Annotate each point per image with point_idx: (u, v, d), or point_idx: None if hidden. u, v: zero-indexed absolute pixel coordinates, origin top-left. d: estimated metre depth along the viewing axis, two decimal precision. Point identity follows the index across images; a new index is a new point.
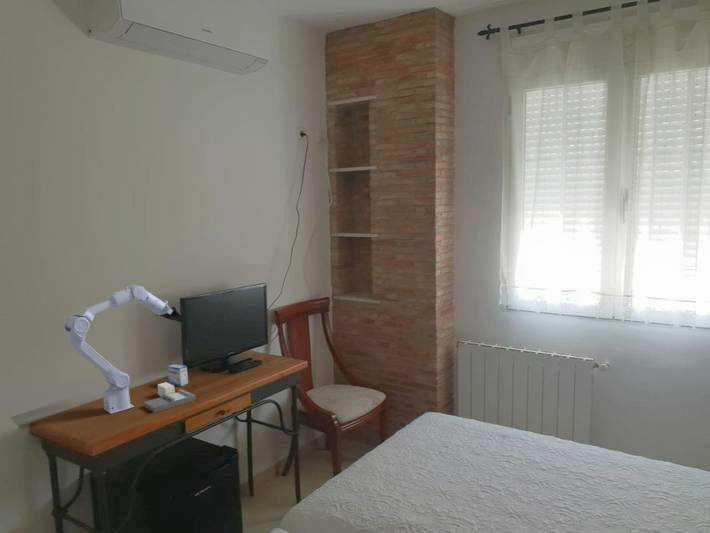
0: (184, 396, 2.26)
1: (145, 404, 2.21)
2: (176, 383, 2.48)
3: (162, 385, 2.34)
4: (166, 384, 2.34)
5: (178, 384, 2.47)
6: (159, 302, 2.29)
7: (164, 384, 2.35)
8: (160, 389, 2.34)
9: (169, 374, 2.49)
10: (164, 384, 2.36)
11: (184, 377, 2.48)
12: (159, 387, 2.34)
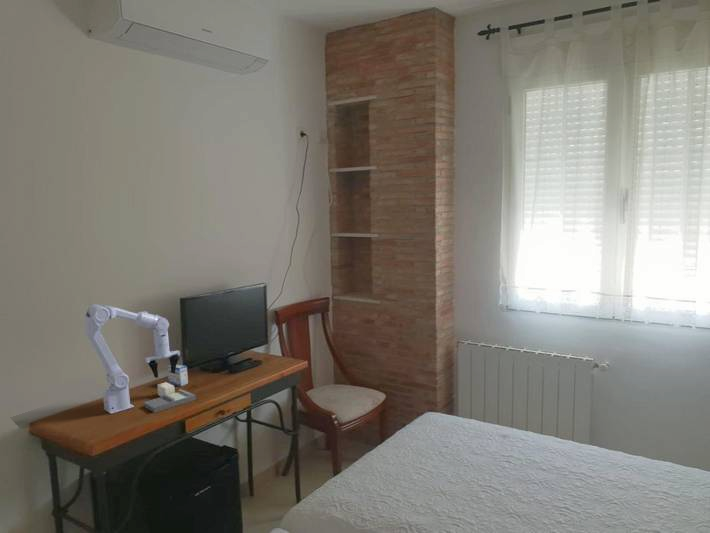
0: (184, 396, 2.26)
1: (145, 404, 2.21)
2: (176, 383, 2.48)
3: (162, 385, 2.34)
4: (166, 384, 2.34)
5: (178, 384, 2.47)
6: (158, 349, 2.29)
7: (164, 384, 2.35)
8: (160, 389, 2.34)
9: (169, 374, 2.49)
10: (164, 384, 2.36)
11: (184, 377, 2.48)
12: (159, 387, 2.34)
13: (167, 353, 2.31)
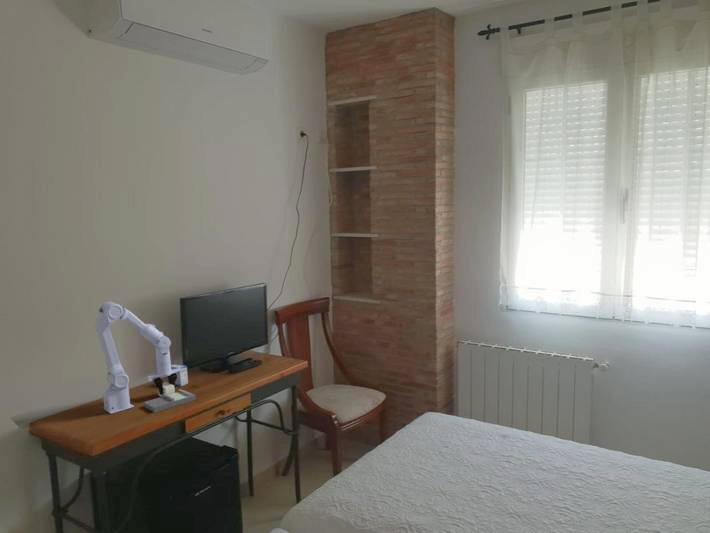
0: (184, 396, 2.26)
1: (145, 404, 2.21)
2: (176, 383, 2.48)
3: None
4: (166, 384, 2.34)
5: (178, 384, 2.47)
6: (159, 367, 2.30)
7: (164, 384, 2.35)
8: None
9: None
10: (164, 383, 2.35)
11: (184, 377, 2.48)
12: None
13: (169, 371, 2.32)
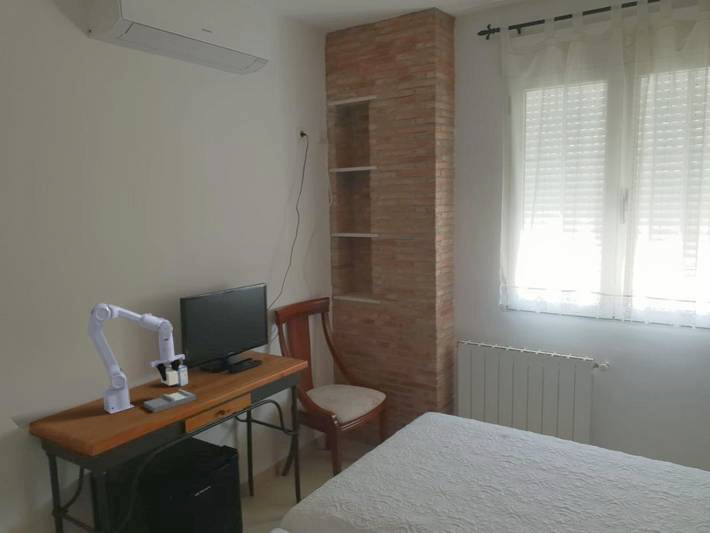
0: (184, 396, 2.26)
1: (145, 404, 2.21)
2: None
3: None
4: (169, 370, 2.31)
5: (178, 384, 2.47)
6: (162, 353, 2.26)
7: (167, 370, 2.31)
8: None
9: None
10: (167, 370, 2.32)
11: (184, 377, 2.48)
12: None
13: (172, 357, 2.28)
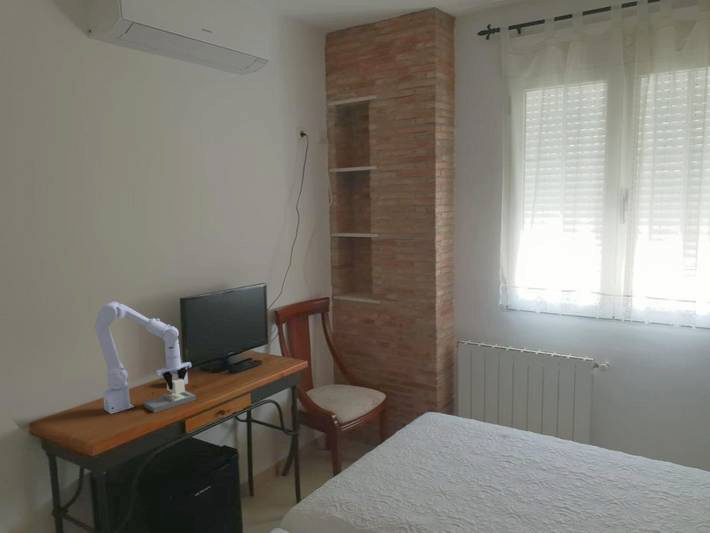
0: (184, 396, 2.26)
1: (145, 404, 2.21)
2: None
3: (172, 379, 2.26)
4: (175, 379, 2.27)
5: None
6: (169, 361, 2.23)
7: (173, 378, 2.27)
8: None
9: None
10: (173, 378, 2.28)
11: None
12: None
13: (178, 365, 2.24)
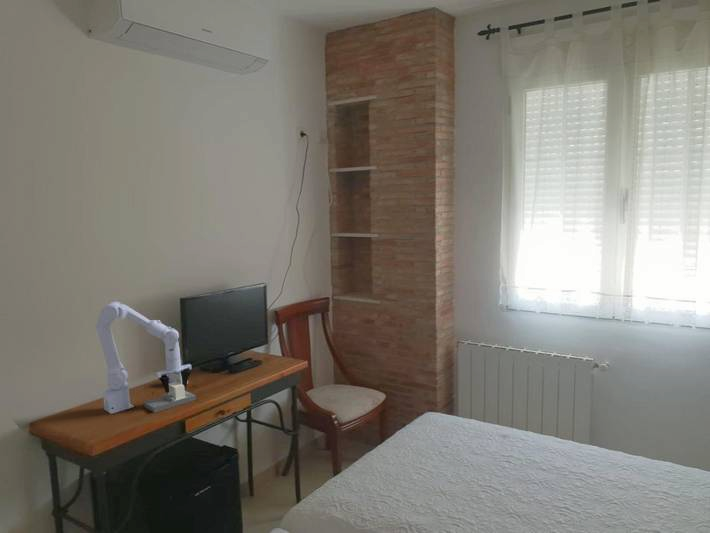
0: None
1: (145, 404, 2.21)
2: None
3: (172, 385, 2.26)
4: (176, 384, 2.27)
5: None
6: (169, 363, 2.23)
7: (174, 383, 2.28)
8: (169, 389, 2.27)
9: (169, 374, 2.49)
10: (174, 383, 2.28)
11: None
12: None
13: (179, 367, 2.24)
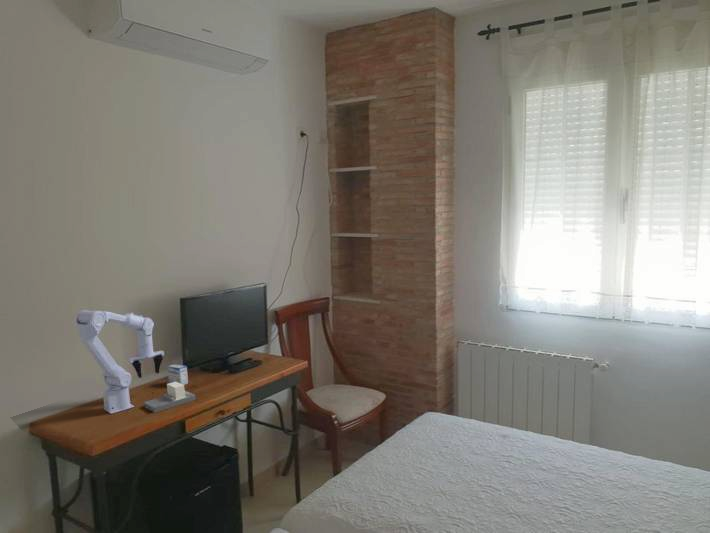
0: None
1: (145, 404, 2.21)
2: None
3: (172, 385, 2.26)
4: (176, 384, 2.27)
5: None
6: (141, 349, 2.31)
7: (174, 383, 2.28)
8: (169, 389, 2.27)
9: (169, 374, 2.49)
10: (174, 383, 2.28)
11: (184, 377, 2.48)
12: (168, 386, 2.27)
13: (151, 353, 2.32)
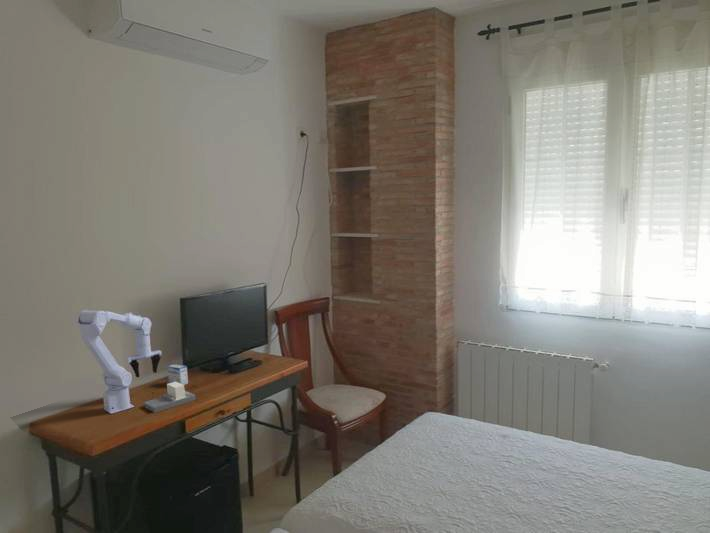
0: None
1: (145, 404, 2.21)
2: None
3: (172, 385, 2.26)
4: (176, 384, 2.27)
5: None
6: (139, 348, 2.31)
7: (174, 383, 2.28)
8: (169, 389, 2.27)
9: (169, 374, 2.49)
10: (174, 383, 2.28)
11: (184, 377, 2.48)
12: (168, 386, 2.27)
13: (148, 353, 2.33)
